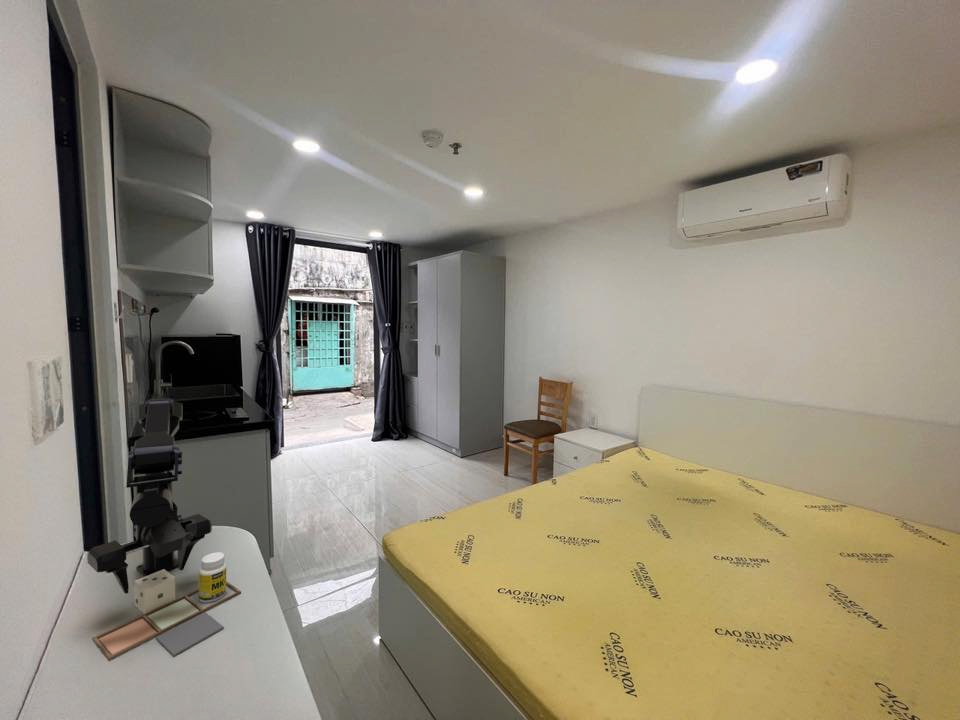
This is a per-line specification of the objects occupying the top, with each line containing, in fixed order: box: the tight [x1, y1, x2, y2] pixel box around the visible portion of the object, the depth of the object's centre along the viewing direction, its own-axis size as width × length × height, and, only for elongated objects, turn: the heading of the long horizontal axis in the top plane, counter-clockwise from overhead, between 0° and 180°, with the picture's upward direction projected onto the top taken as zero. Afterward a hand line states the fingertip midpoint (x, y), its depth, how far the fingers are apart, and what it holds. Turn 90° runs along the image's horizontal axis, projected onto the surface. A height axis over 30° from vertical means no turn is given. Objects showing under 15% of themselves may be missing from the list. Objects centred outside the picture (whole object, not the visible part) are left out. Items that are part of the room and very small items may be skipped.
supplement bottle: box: [198, 551, 227, 603], centre depth 84 cm, size 5×5×8 cm
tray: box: [92, 580, 242, 662], centre depth 78 cm, size 8×21×1 cm, turn 149°
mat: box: [155, 611, 225, 658], centre depth 74 cm, size 7×8×1 cm
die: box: [133, 569, 176, 614], centre depth 81 cm, size 5×5×5 cm
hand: (154, 580), depth 81 cm, fingers open, 9 cm apart
